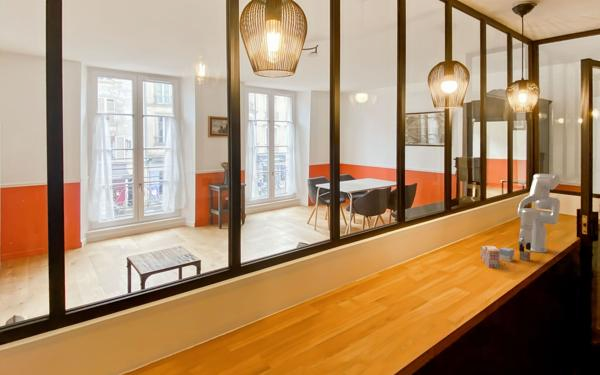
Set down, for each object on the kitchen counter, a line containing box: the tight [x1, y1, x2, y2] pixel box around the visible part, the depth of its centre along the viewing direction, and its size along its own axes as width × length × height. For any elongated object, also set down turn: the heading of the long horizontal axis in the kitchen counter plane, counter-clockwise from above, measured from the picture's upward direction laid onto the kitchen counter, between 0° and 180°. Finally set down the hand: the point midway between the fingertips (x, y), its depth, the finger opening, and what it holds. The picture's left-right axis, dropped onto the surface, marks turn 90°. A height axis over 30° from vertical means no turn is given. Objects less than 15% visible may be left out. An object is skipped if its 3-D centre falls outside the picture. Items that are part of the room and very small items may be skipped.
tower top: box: [498, 246, 515, 257], centre depth 275 cm, size 7×7×4 cm
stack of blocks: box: [480, 245, 500, 269], centre depth 268 cm, size 21×6×12 cm, turn 169°
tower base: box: [499, 254, 515, 263], centre depth 276 cm, size 7×7×4 cm
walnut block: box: [518, 250, 531, 262], centre depth 275 cm, size 5×5×6 cm
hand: (524, 250), depth 274 cm, fingers open, 9 cm apart
